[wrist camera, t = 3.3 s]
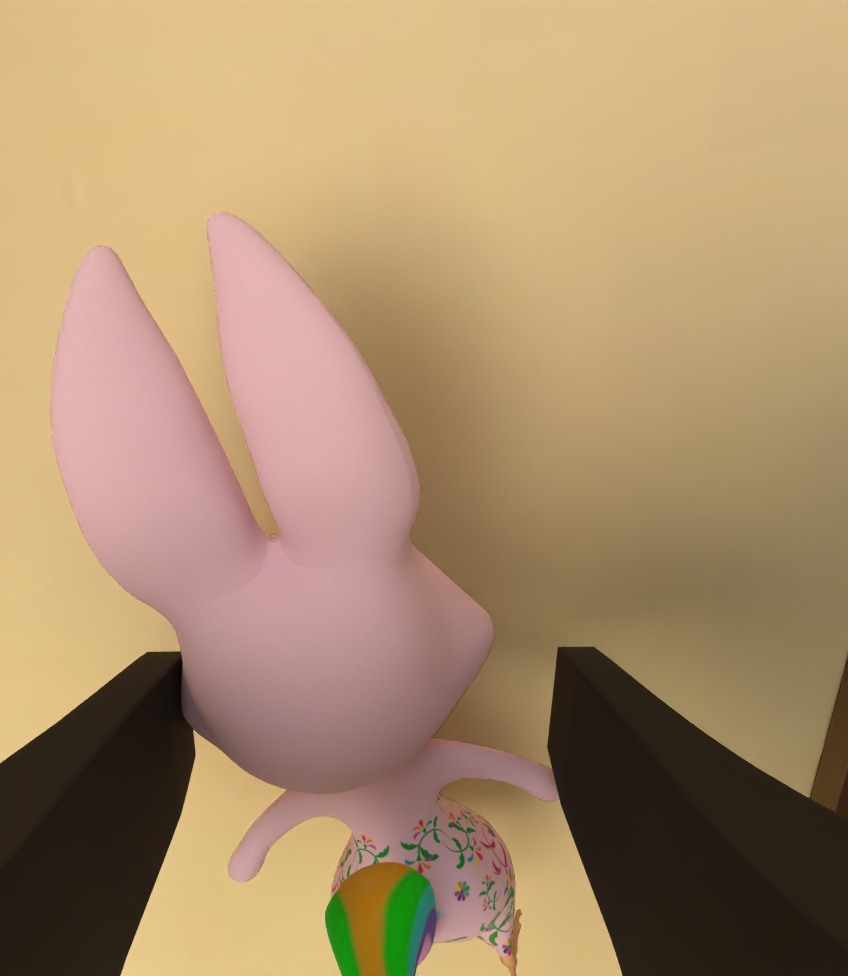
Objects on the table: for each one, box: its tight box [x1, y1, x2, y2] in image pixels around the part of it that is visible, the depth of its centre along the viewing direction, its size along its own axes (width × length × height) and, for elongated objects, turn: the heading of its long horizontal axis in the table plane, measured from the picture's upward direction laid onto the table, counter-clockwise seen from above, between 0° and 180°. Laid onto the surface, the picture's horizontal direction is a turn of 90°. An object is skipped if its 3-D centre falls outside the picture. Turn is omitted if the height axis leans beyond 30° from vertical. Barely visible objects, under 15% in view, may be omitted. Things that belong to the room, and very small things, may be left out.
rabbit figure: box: [51, 212, 559, 976], centre depth 10 cm, size 6×6×15 cm
